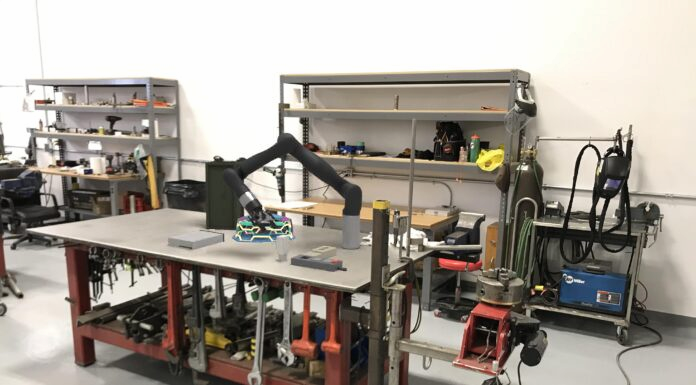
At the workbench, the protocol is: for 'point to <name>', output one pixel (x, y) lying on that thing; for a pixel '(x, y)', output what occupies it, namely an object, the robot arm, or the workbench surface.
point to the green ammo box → (221, 197)
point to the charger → (282, 247)
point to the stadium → (254, 233)
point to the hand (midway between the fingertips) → (270, 229)
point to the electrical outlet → (322, 252)
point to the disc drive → (196, 239)
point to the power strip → (317, 262)
